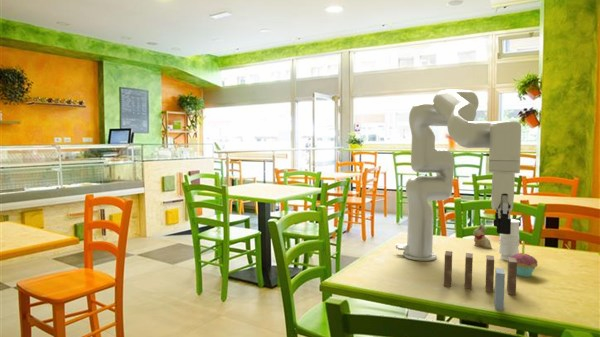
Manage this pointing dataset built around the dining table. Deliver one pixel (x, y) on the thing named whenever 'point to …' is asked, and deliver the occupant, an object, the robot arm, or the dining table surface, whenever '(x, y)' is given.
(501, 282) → the domino
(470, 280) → the domino
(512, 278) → the domino
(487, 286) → the domino
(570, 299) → the dining table surface
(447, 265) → the domino
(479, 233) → the chocolate bunny
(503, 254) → the candle
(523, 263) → the cupcake
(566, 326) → the dining table surface
